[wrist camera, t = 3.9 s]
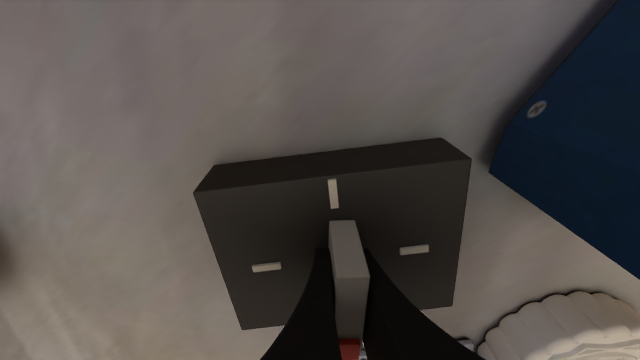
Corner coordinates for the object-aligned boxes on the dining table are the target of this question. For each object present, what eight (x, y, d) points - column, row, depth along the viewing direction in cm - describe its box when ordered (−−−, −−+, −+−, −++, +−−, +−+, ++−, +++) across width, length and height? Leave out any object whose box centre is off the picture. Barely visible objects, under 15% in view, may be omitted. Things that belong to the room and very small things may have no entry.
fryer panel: (441, 137, 15) (474, 160, 12) (431, 268, 18) (454, 309, 16) (213, 165, 15) (190, 194, 12) (251, 289, 19) (241, 333, 16)
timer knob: (329, 219, 13) (336, 282, 10) (355, 219, 13) (372, 281, 10) (327, 291, 15) (332, 364, 11) (349, 290, 15) (362, 363, 12)
